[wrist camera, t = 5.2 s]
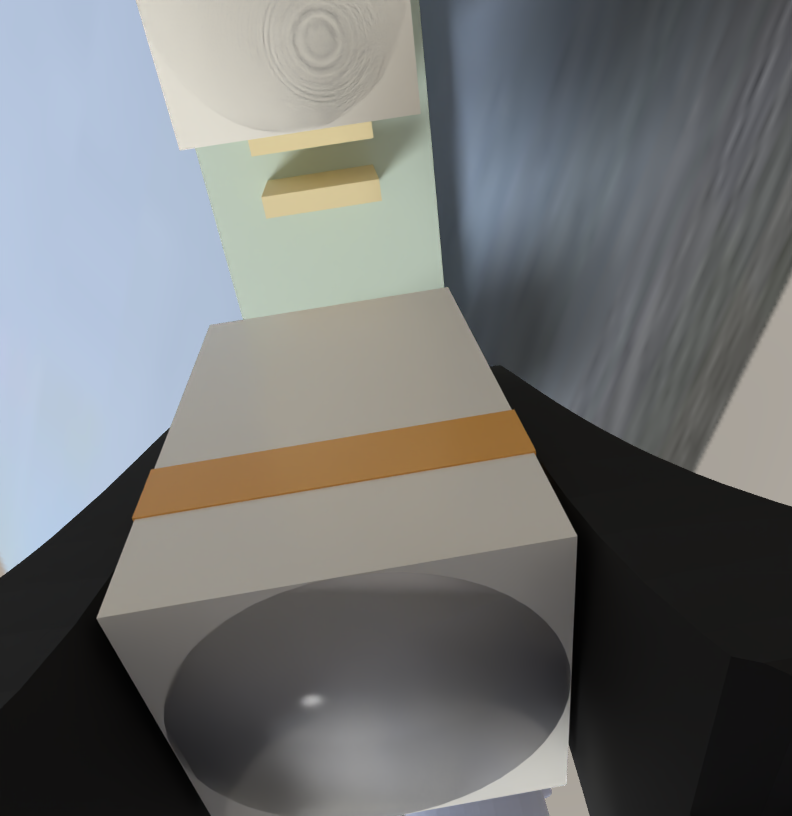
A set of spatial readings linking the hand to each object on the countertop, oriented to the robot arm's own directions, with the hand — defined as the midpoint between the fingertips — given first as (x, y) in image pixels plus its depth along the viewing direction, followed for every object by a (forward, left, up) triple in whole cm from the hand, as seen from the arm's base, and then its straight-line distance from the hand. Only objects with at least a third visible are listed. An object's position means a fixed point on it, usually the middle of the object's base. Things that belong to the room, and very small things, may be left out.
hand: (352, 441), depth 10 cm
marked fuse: (0, 0, -1) cm, 1 cm away
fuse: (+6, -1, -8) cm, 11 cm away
